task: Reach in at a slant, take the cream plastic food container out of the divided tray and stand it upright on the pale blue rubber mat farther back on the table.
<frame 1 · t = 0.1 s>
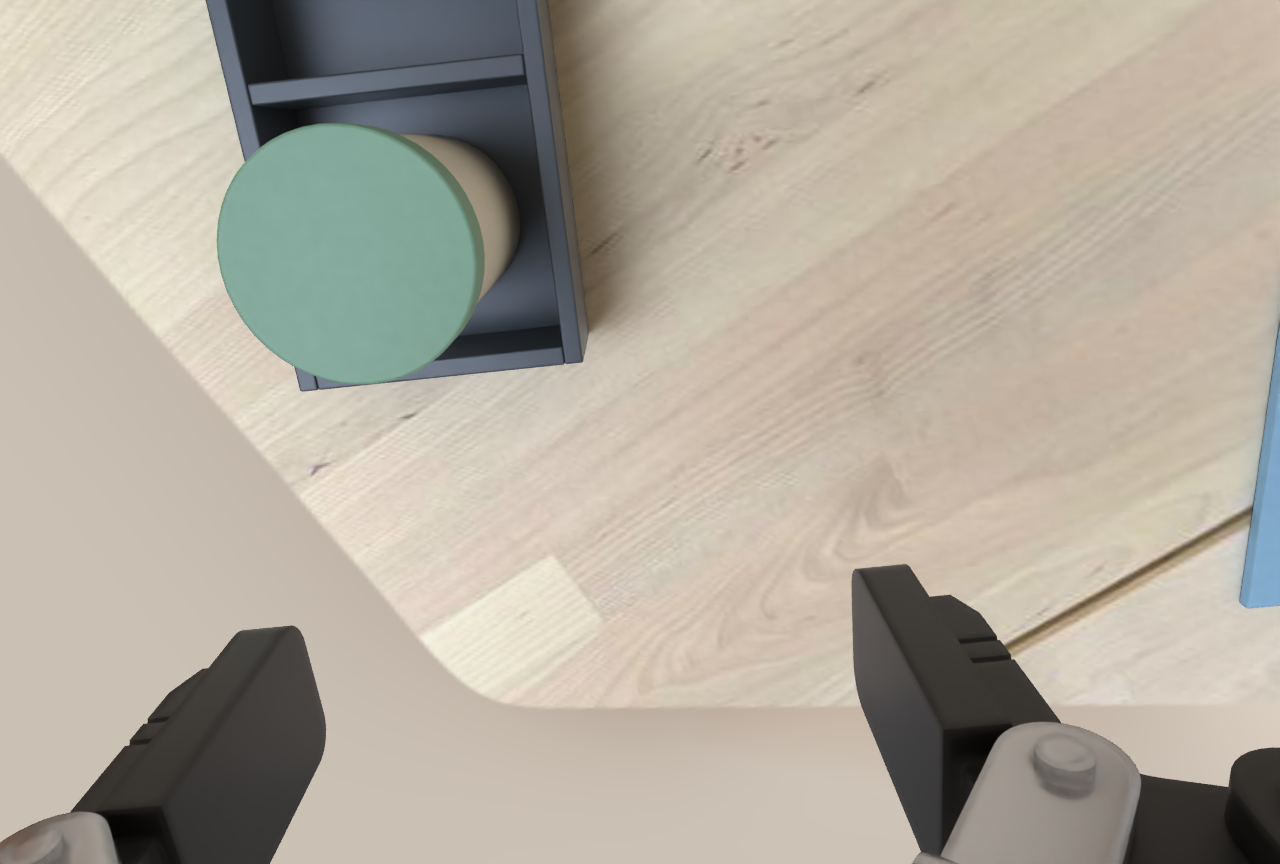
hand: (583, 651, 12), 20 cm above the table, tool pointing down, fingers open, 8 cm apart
container: (438, 221, 29), point 1 cm above the table, touching divided tray
divided tray: (420, 88, 29), on the table
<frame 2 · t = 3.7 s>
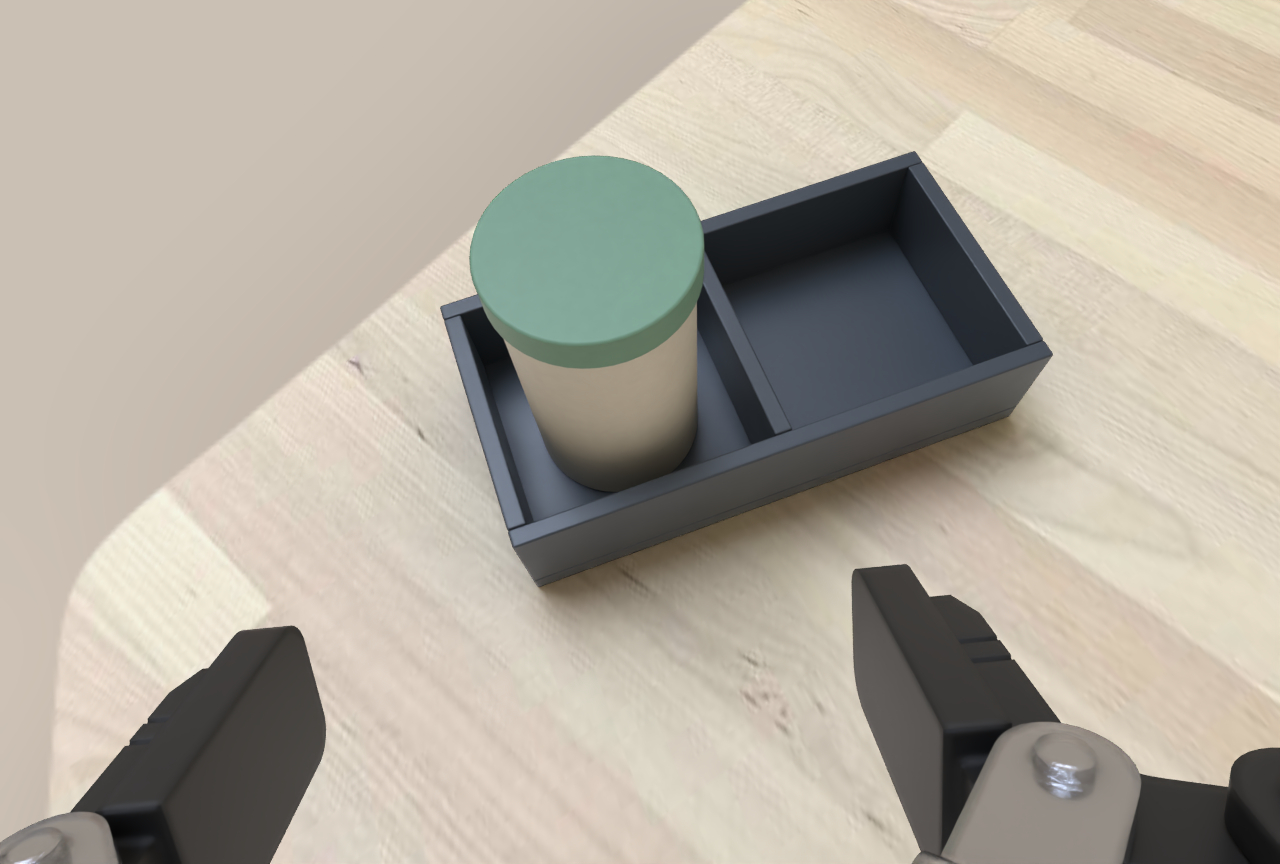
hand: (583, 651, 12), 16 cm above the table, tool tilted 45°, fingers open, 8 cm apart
container: (619, 420, 31), point 1 cm above the table, touching divided tray
divided tray: (730, 391, 32), on the table
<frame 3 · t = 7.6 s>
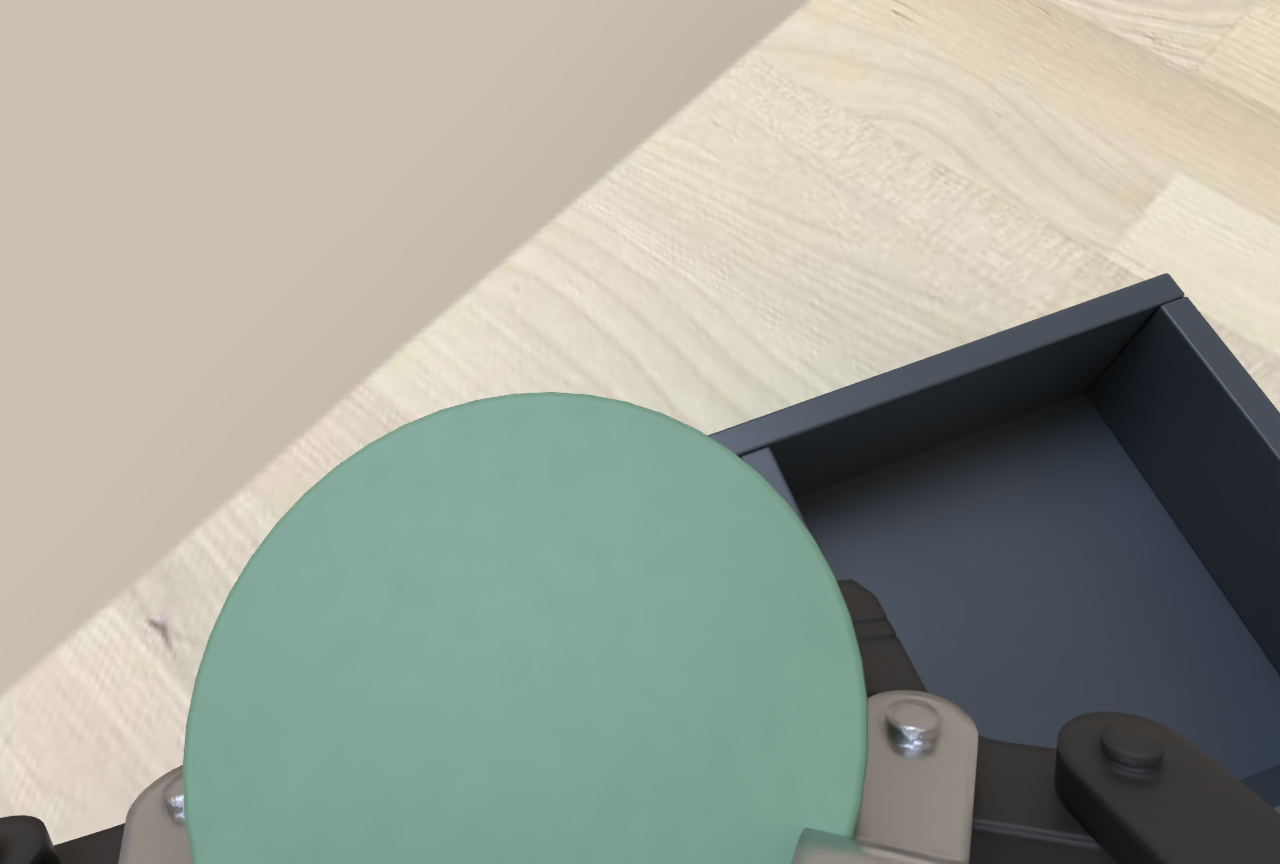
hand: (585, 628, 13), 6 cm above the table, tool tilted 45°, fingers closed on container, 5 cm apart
container: (619, 775, 16), point 1 cm above the table, touching gripper, divided tray
divided tray: (819, 701, 18), on the table
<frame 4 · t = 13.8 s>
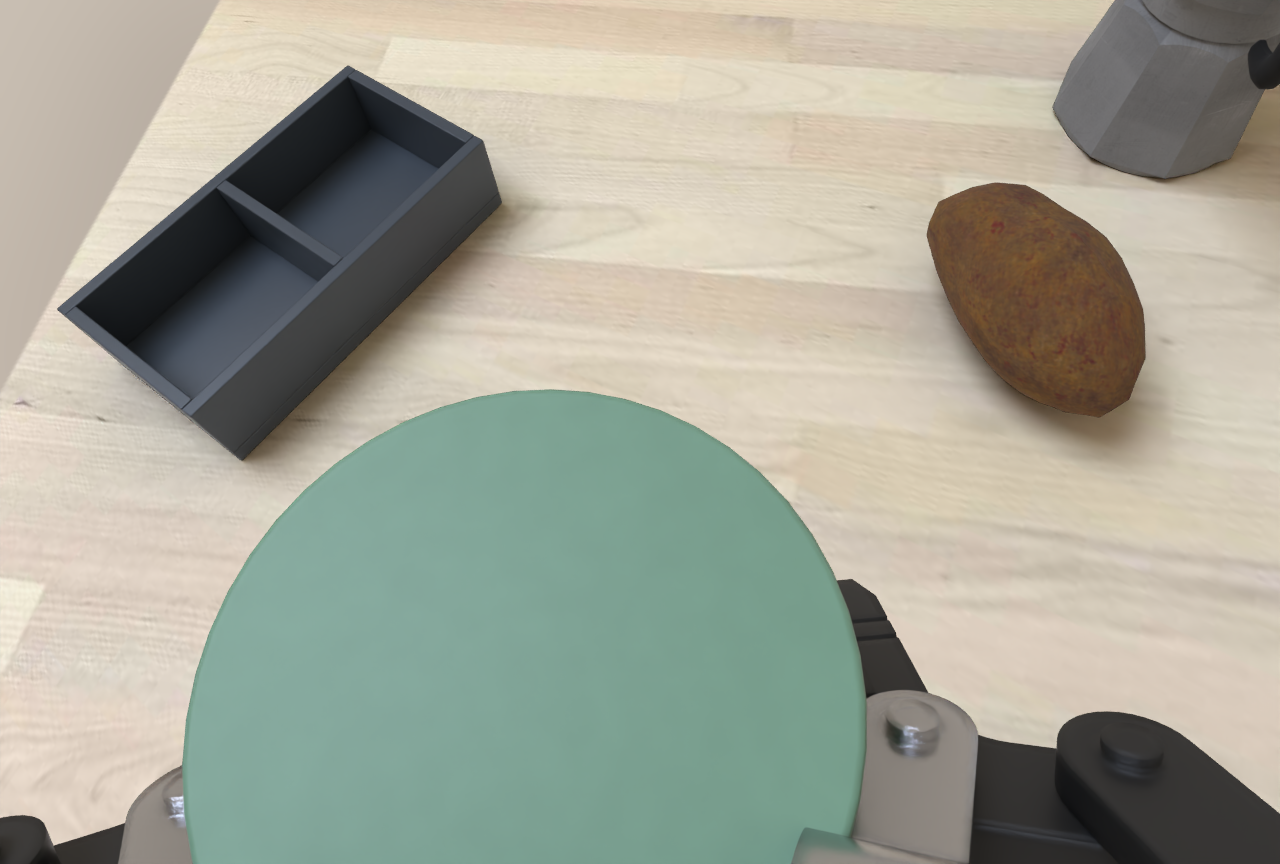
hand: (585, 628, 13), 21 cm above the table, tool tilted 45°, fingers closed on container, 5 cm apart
container: (618, 773, 16), point 16 cm above the table, touching gripper
divided tray: (316, 278, 42), on the table
potato: (1010, 338, 38), on the table
coffeepot: (1146, 131, 43), on the table
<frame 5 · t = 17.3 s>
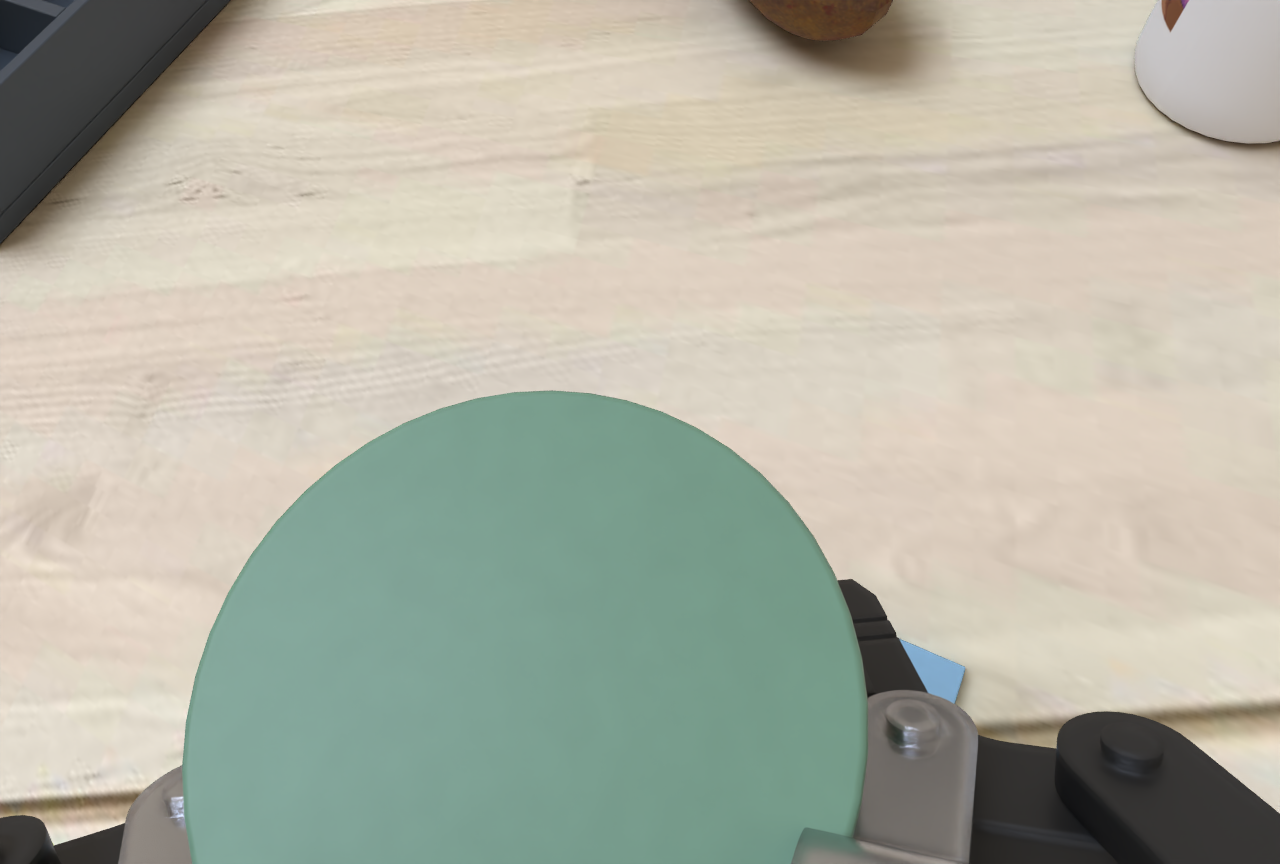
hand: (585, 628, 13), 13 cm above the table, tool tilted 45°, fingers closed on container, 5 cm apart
container: (618, 774, 16), point 9 cm above the table, touching gripper
divided tray: (59, 73, 39), on the table
potato: (788, 6, 38), on the table
mat: (645, 794, 24), on the table
milk bottle: (1226, 82, 34), on the table
when the fingers open (5 cm above the table, at t = 20.0 s): container stays where it is, resting on mat.
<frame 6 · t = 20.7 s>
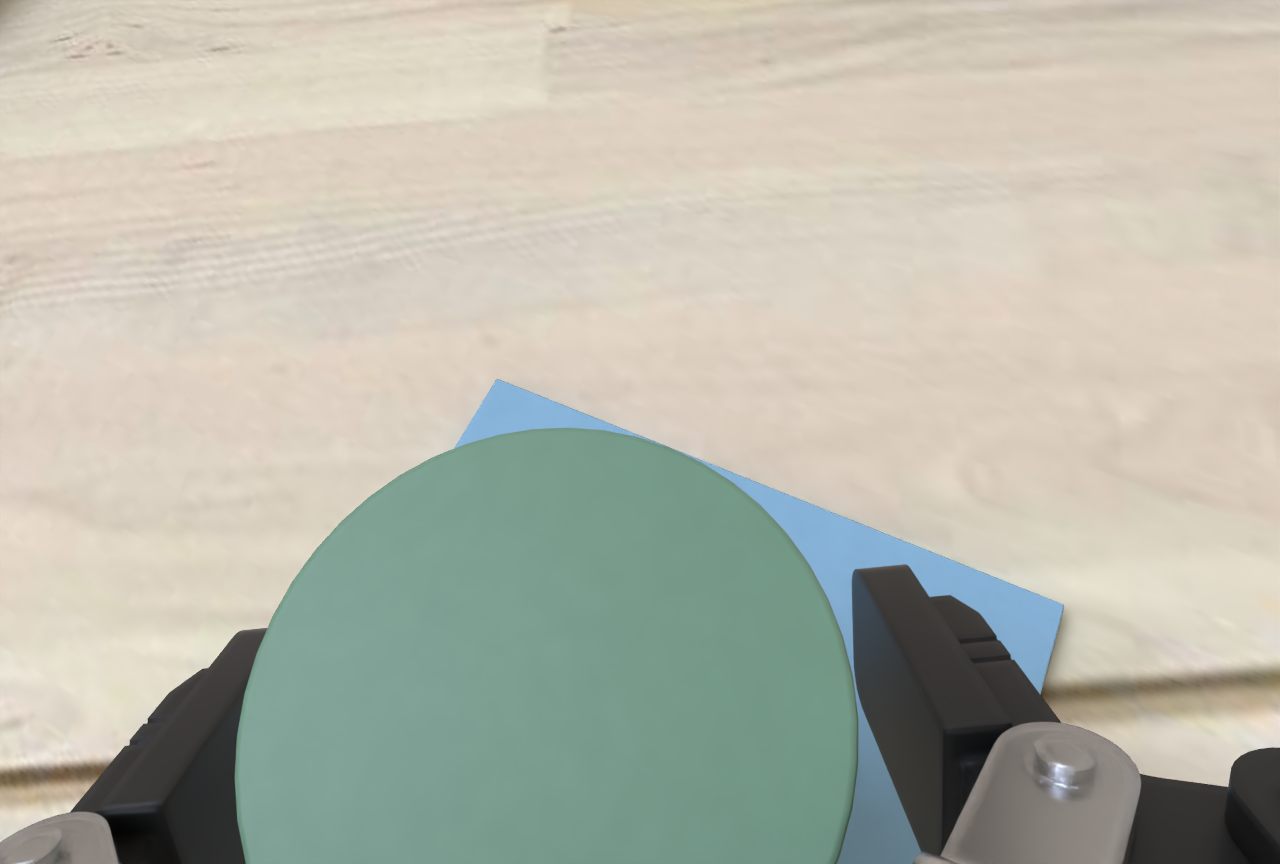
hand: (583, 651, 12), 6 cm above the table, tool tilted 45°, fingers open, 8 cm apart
container: (625, 778, 17), resting on mat
mat: (627, 777, 18), on the table
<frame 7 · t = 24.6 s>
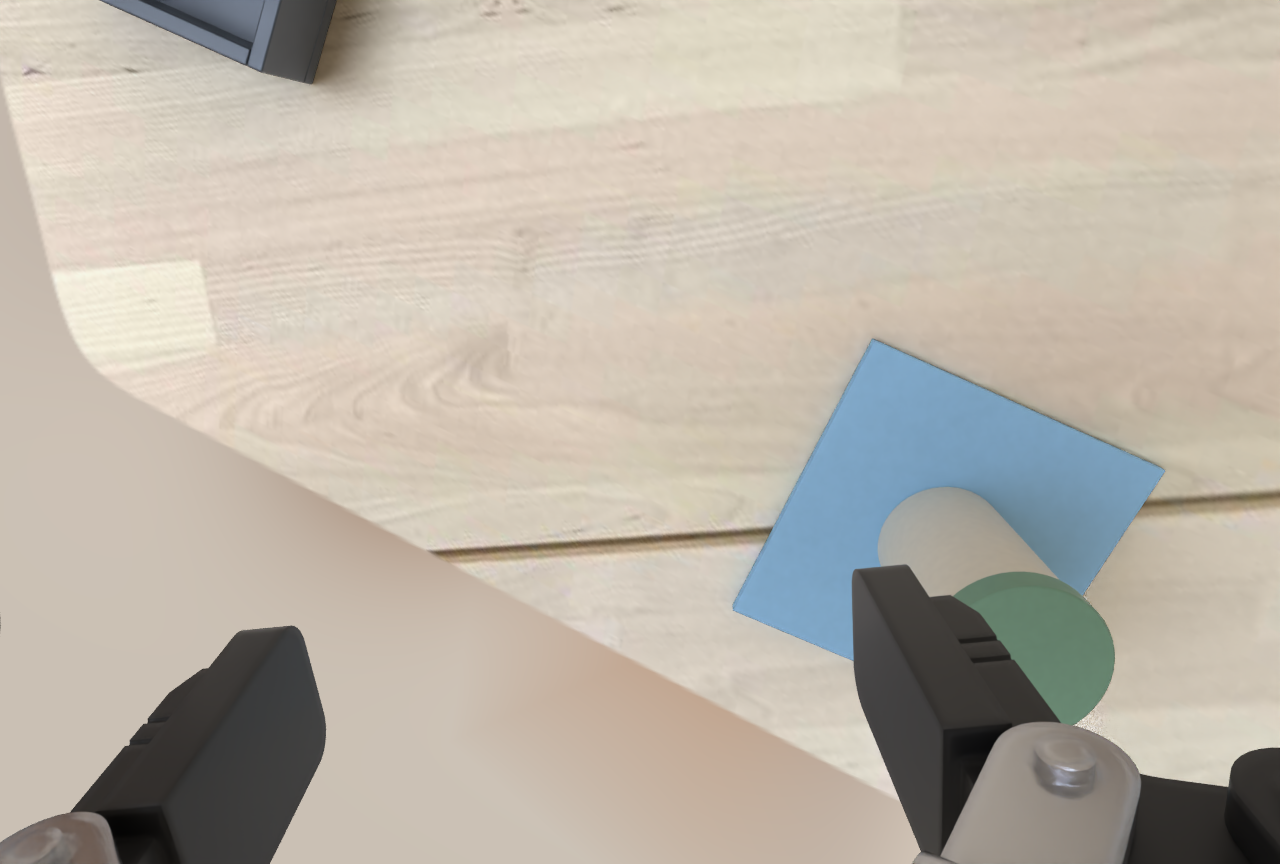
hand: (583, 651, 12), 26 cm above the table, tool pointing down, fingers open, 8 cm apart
container: (940, 544, 38), resting on mat
mat: (937, 538, 39), on the table
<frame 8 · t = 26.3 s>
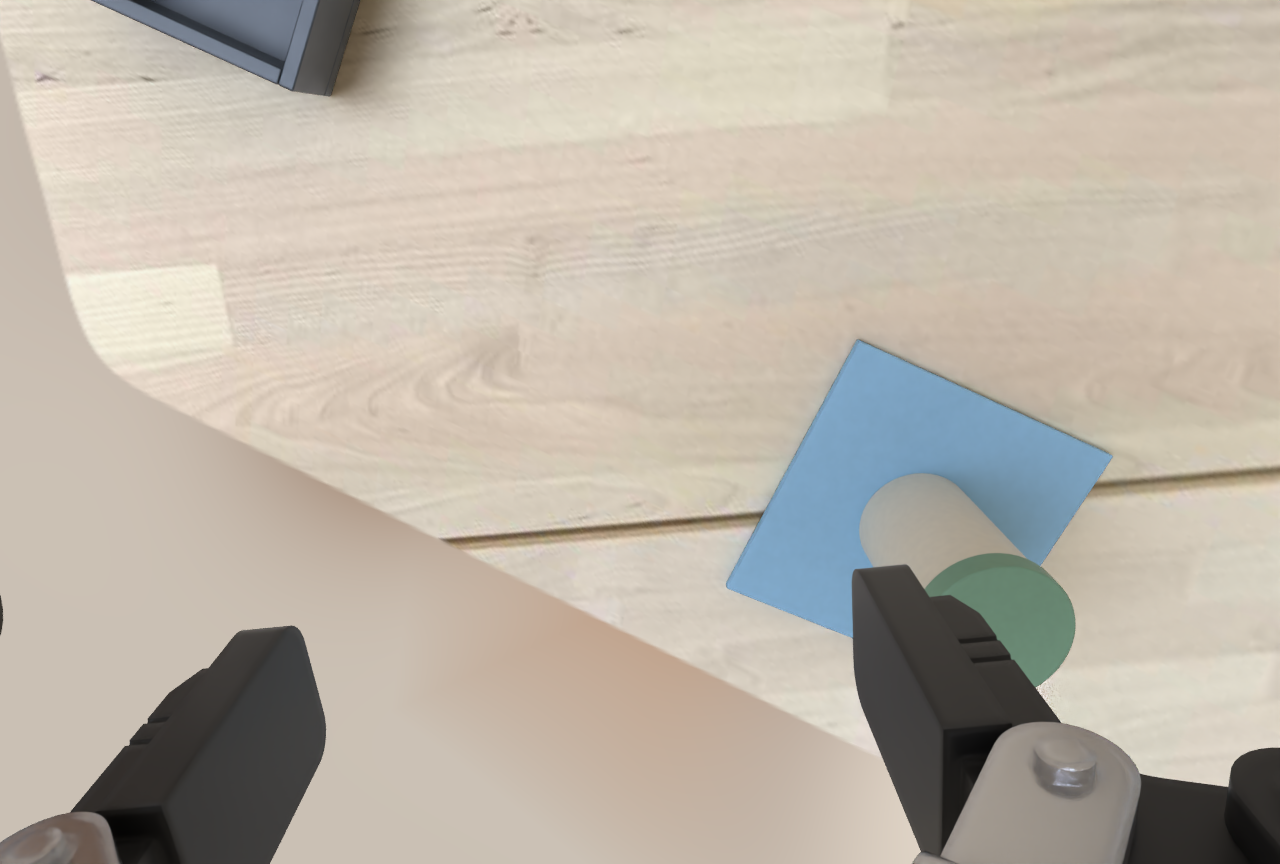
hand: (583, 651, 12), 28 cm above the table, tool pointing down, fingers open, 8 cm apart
container: (915, 525, 42), resting on mat
mat: (912, 519, 43), on the table
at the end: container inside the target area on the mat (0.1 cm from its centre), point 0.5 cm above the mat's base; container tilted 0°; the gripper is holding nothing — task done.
